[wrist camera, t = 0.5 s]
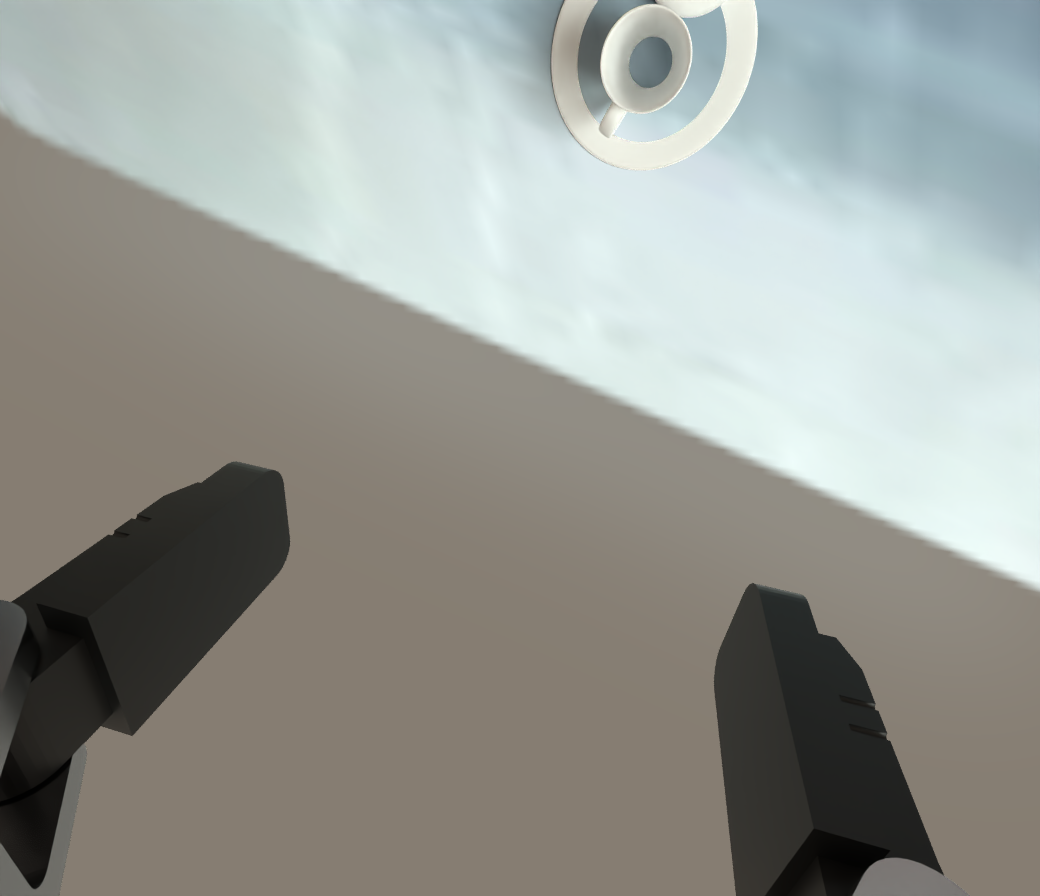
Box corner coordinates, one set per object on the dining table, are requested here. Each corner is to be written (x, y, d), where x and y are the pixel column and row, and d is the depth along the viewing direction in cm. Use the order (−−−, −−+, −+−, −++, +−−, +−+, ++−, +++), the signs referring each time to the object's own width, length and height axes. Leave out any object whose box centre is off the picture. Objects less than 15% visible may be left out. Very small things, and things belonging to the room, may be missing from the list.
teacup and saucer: (709, -162, 19) (713, -211, 15) (815, 60, 21) (837, 59, 18) (516, 43, 23) (487, 40, 20) (621, 207, 26) (612, 227, 22)
